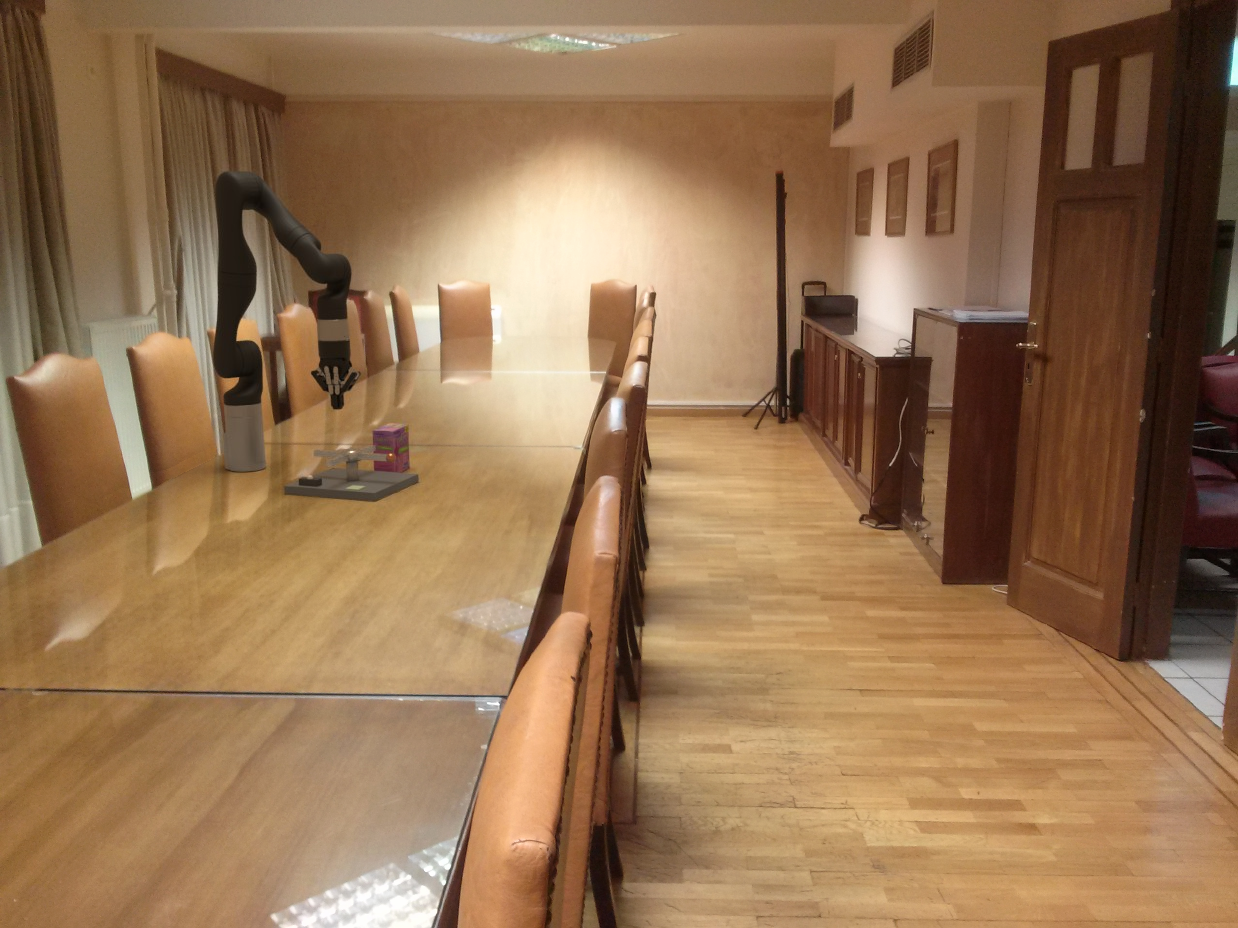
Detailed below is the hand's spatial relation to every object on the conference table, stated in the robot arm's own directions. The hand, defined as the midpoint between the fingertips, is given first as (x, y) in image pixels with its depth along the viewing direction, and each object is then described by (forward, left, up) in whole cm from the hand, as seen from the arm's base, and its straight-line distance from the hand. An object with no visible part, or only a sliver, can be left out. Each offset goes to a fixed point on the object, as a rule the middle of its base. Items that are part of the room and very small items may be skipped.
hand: (337, 409), depth 264 cm
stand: (+6, -5, -18) cm, 20 cm away
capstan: (+7, -5, -11) cm, 15 cm away
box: (+6, +14, -18) cm, 24 cm away
